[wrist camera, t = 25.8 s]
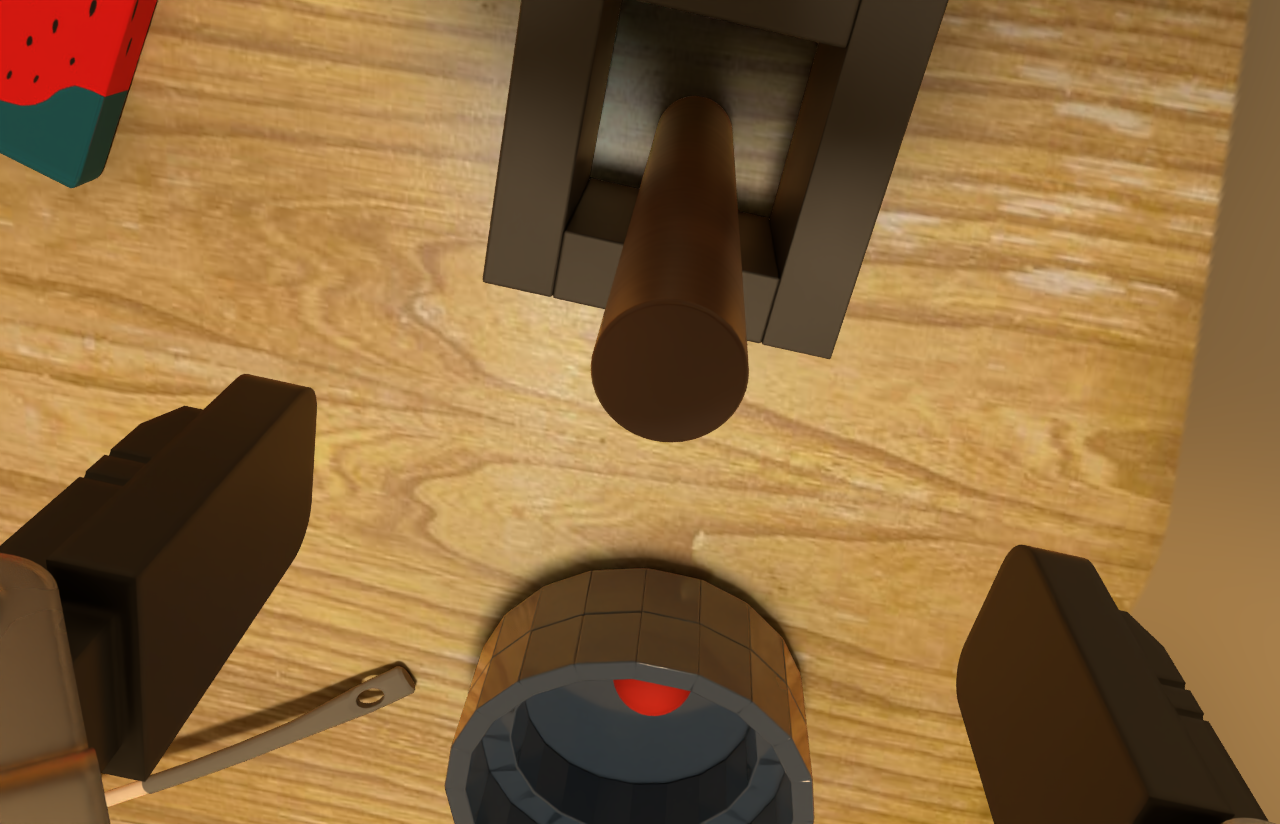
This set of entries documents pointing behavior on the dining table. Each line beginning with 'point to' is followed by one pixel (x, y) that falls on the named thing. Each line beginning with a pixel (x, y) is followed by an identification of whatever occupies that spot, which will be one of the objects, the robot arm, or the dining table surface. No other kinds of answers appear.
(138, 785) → the ladle
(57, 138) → the popsicle
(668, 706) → the bead
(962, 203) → the dining table surface
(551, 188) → the holder
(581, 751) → the dark grey round dish
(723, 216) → the stick
